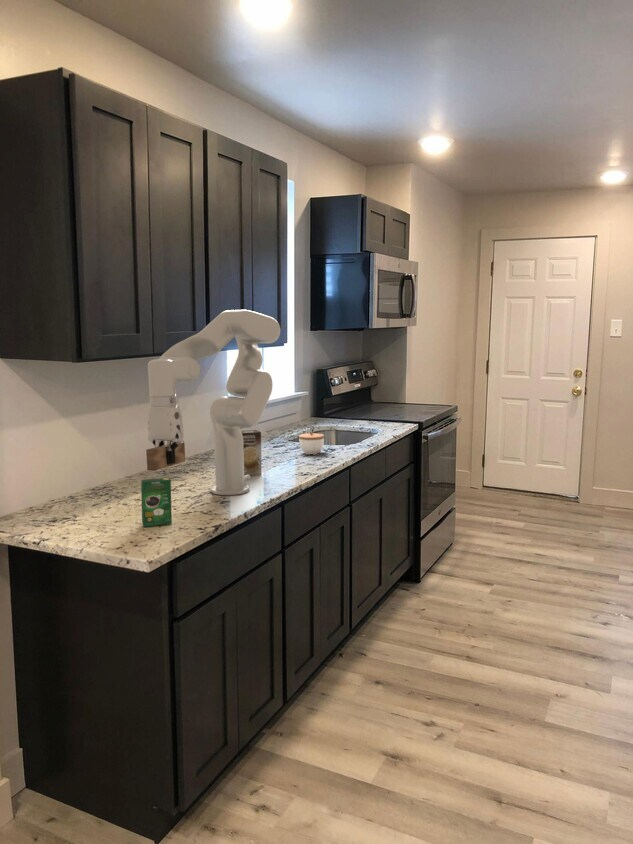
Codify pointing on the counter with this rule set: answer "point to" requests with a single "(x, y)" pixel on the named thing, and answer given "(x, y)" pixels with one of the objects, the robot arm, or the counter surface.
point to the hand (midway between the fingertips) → (166, 462)
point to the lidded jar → (311, 442)
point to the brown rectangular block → (163, 457)
